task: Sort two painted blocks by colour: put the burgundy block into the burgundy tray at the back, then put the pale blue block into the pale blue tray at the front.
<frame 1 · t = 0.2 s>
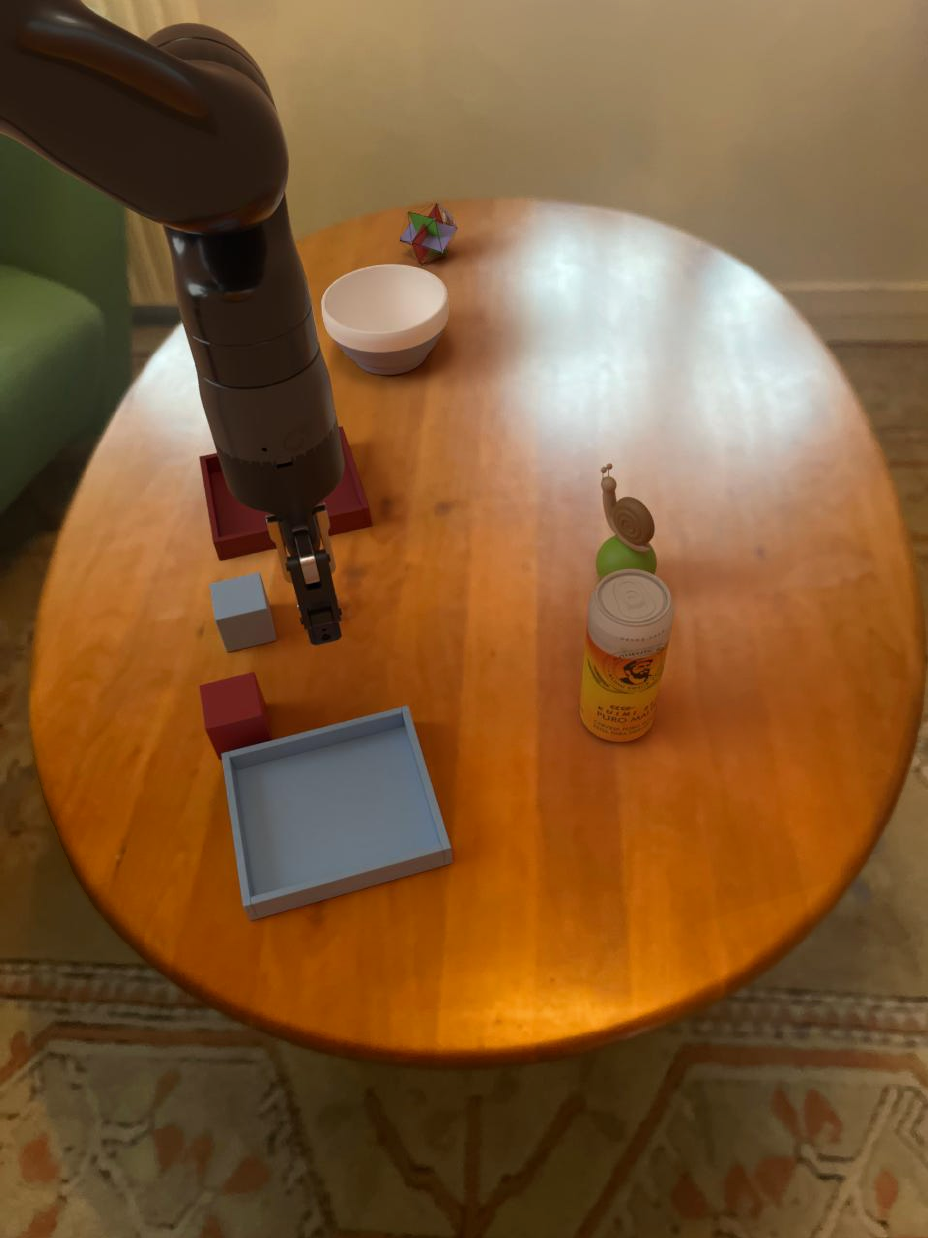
hand: (315, 595, 69), 14 cm above the table, tool pointing down, fingers open, 8 cm apart
blue block: (248, 628, 86), on the table
beer can: (615, 717, 79), on the table
burgundy tray: (286, 499, 97), on the table
bowl: (391, 356, 113), on the table
geometric puzzle: (429, 258, 127), on the table
snail figurine: (619, 581, 88), on the table
burgundy block: (242, 730, 79), on the table
blue tray: (336, 814, 74), on the table
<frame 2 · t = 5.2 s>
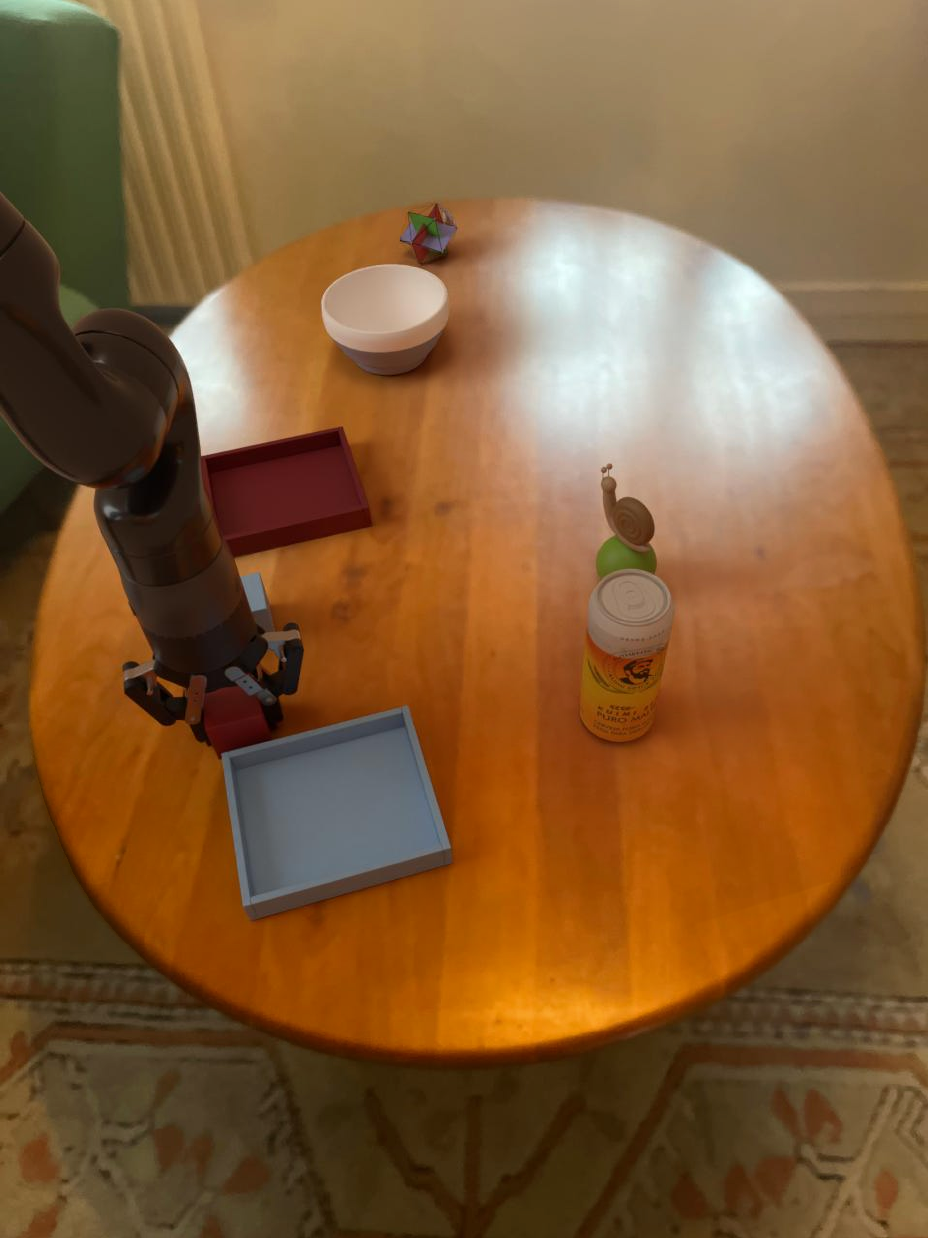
hand: (241, 728, 79), 0 cm above the table, tool pointing down, fingers closed on burgundy block, 4 cm apart
burgundy block: (242, 730, 79), on the table, touching gripper
everything else where it was.
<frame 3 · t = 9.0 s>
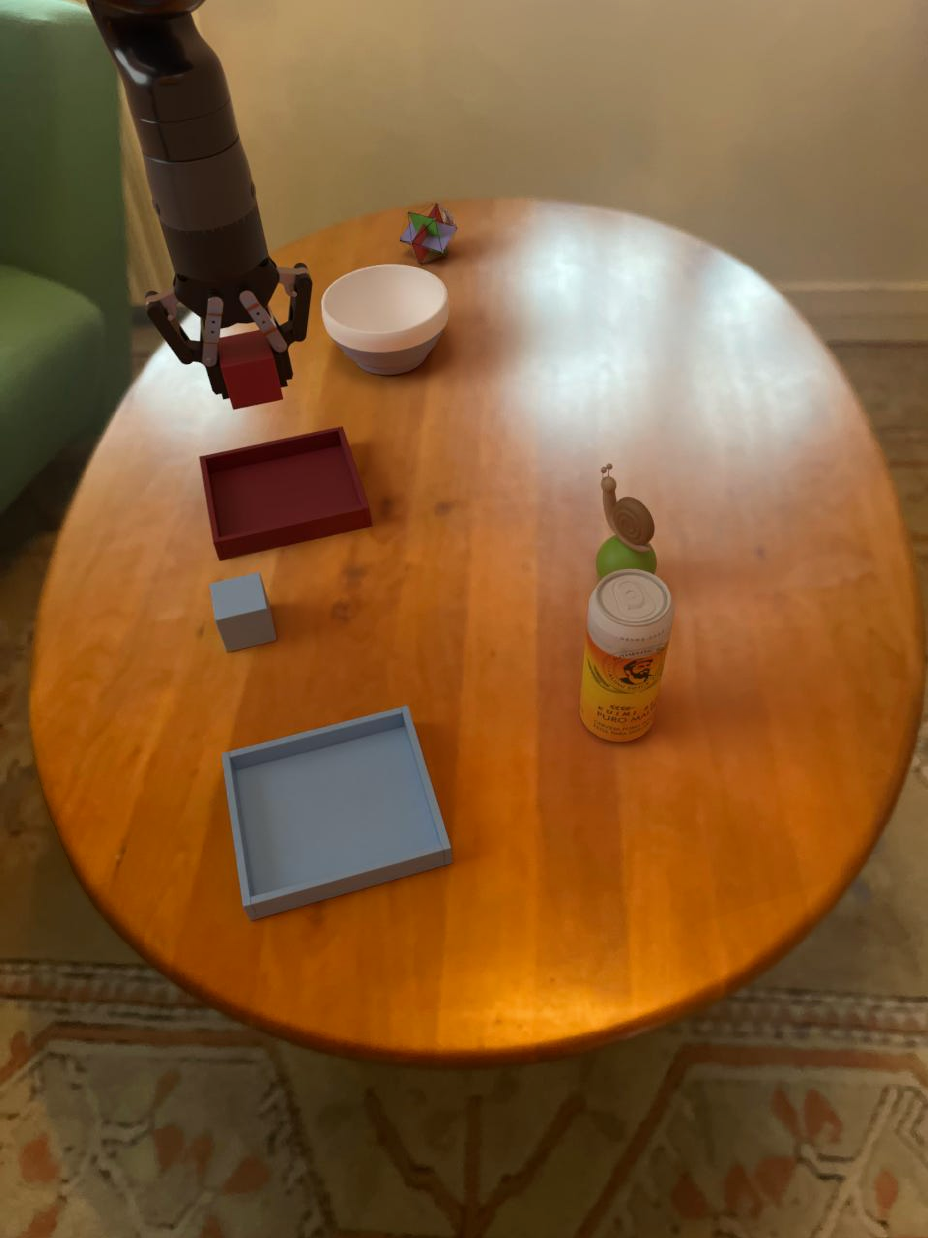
hand: (254, 387, 85), 15 cm above the table, tool pointing down, fingers closed on burgundy block, 4 cm apart
burgundy block: (255, 390, 85), point 15 cm above the table, touching gripper
everything else where it was.
when the fingers open (1 cm above the table, at t = 12.6 s): burgundy block stays where it is, resting on burgundy tray.
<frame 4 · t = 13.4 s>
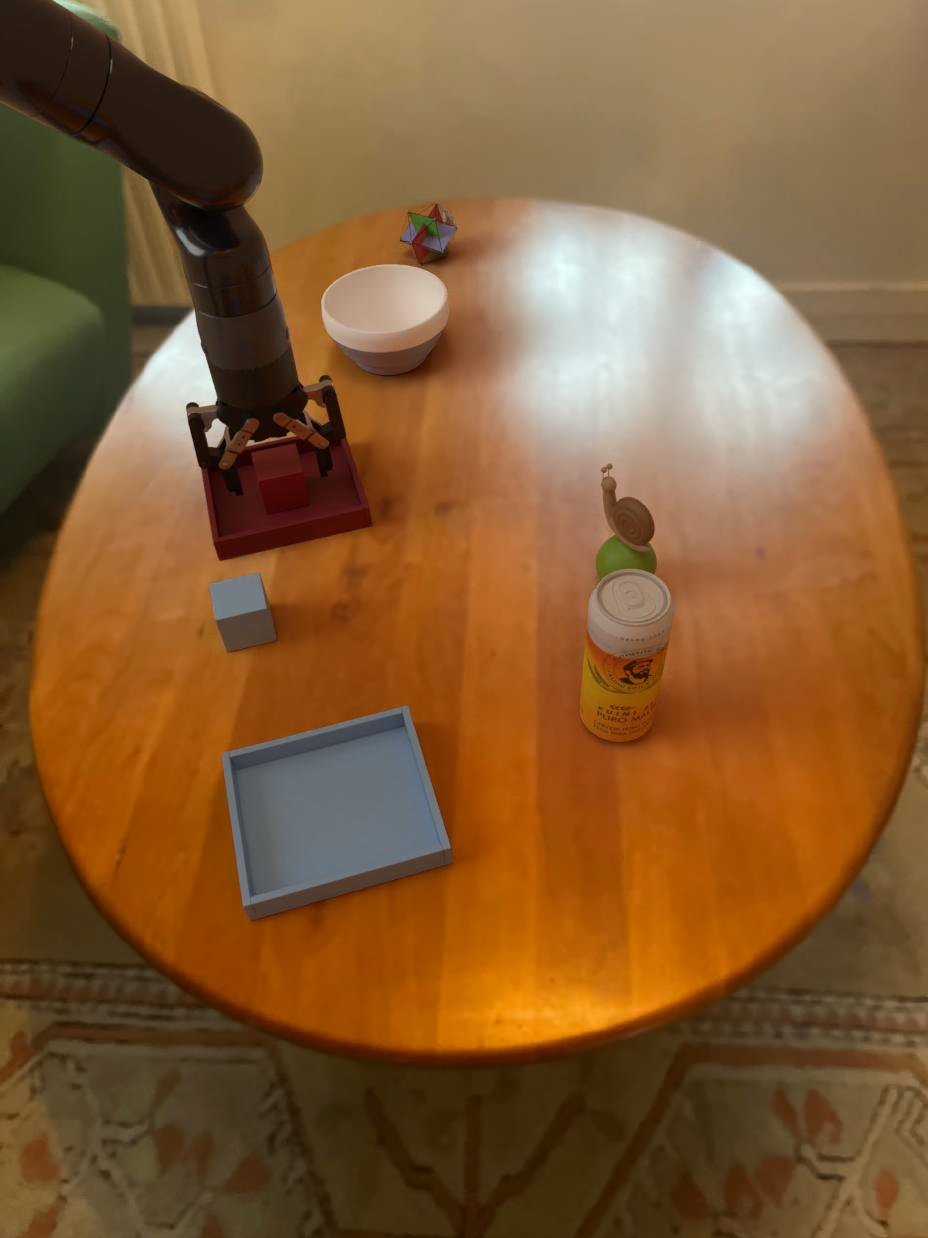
hand: (281, 481, 95), 3 cm above the table, tool pointing down, fingers open, 8 cm apart
burgundy block: (285, 495, 97), resting on burgundy tray
everything else where it was.
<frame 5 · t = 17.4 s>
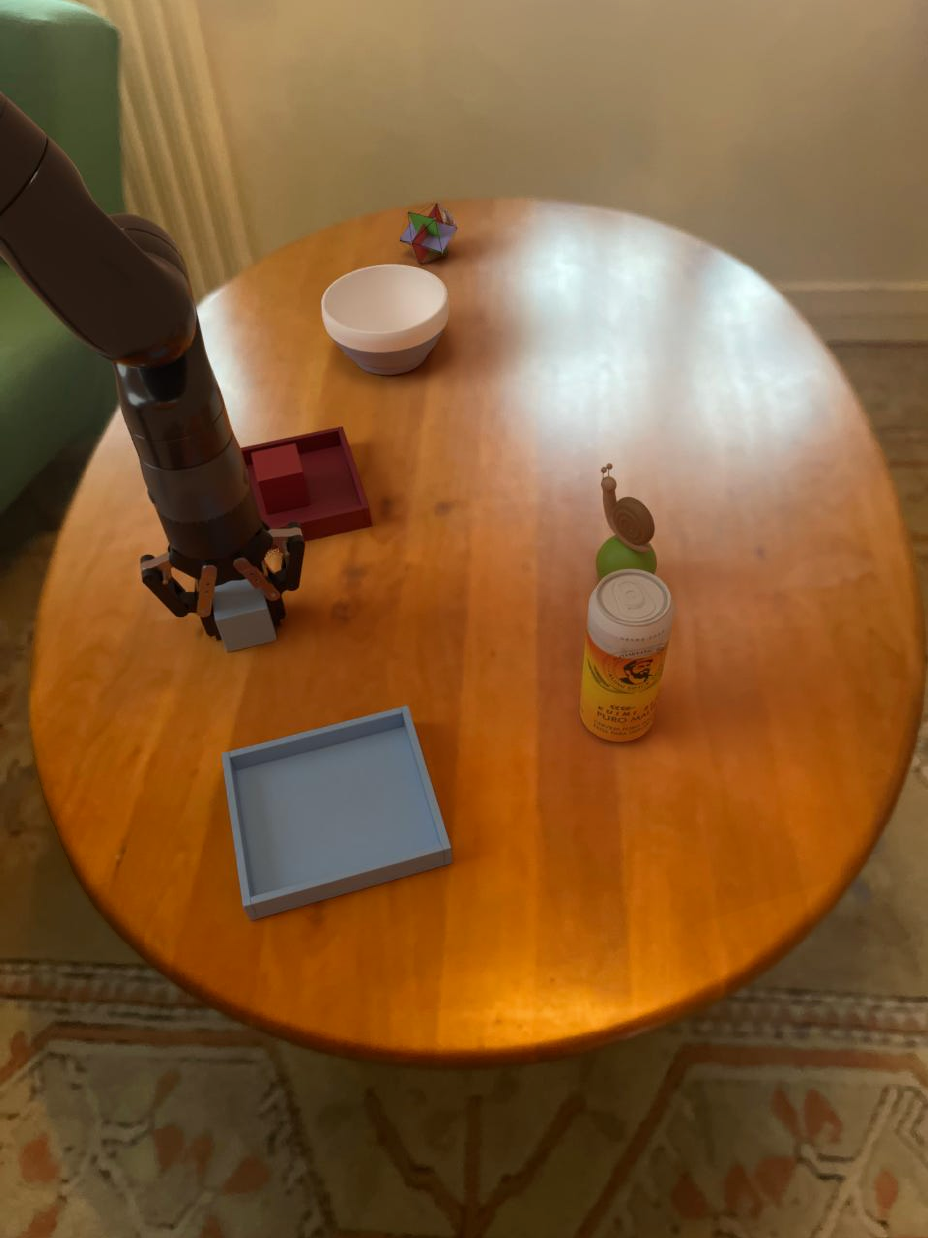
hand: (247, 625, 86), 0 cm above the table, tool pointing down, fingers closed on blue block, 4 cm apart
blue block: (248, 628, 86), on the table, touching gripper
everything else where it was.
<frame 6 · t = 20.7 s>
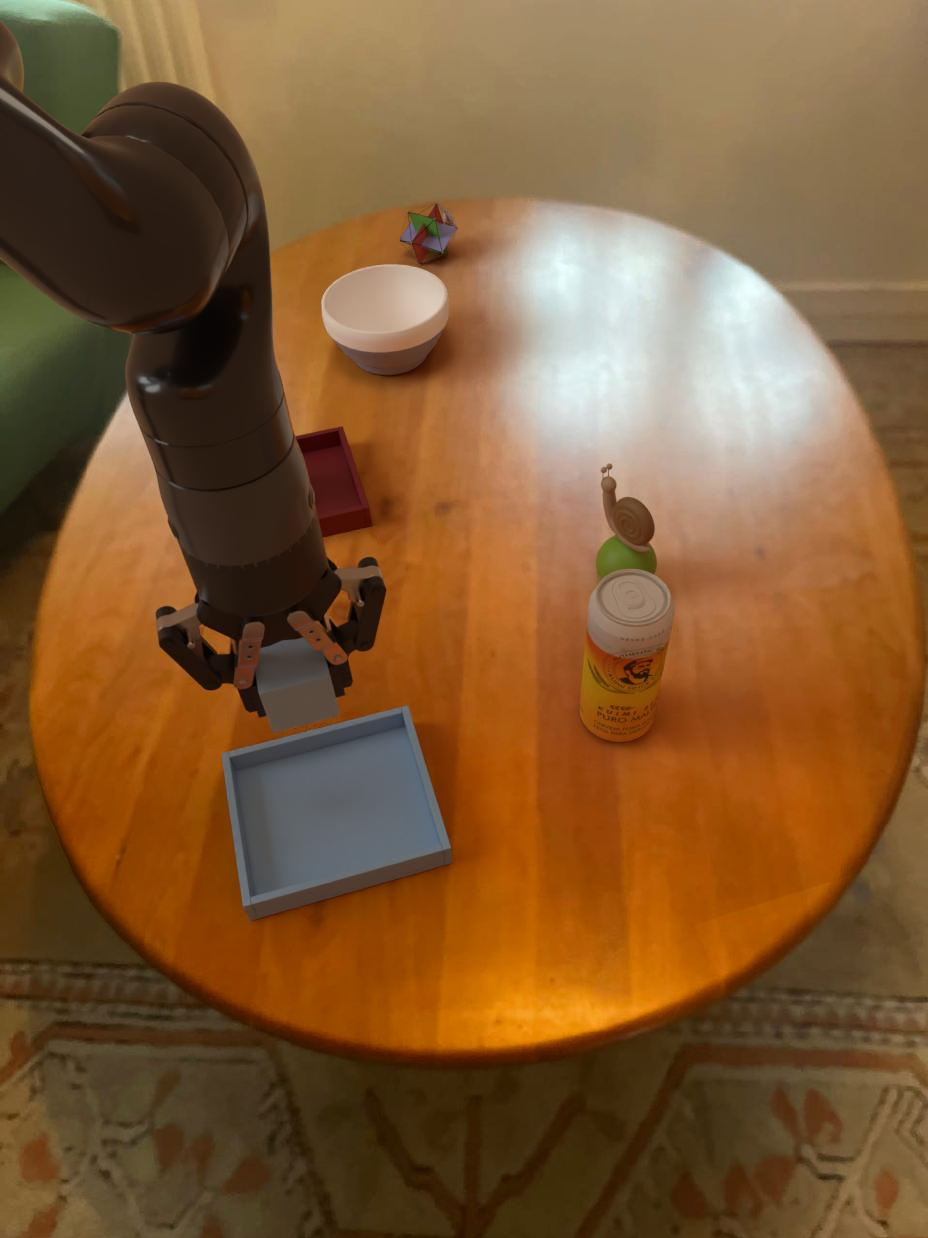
hand: (300, 695, 64), 14 cm above the table, tool pointing down, fingers closed on blue block, 4 cm apart
blue block: (301, 698, 64), point 14 cm above the table, touching gripper
everything else where it was.
when the fingers open (1 cm above the table, at t = 24.2 s): blue block stays where it is, resting on blue tray.
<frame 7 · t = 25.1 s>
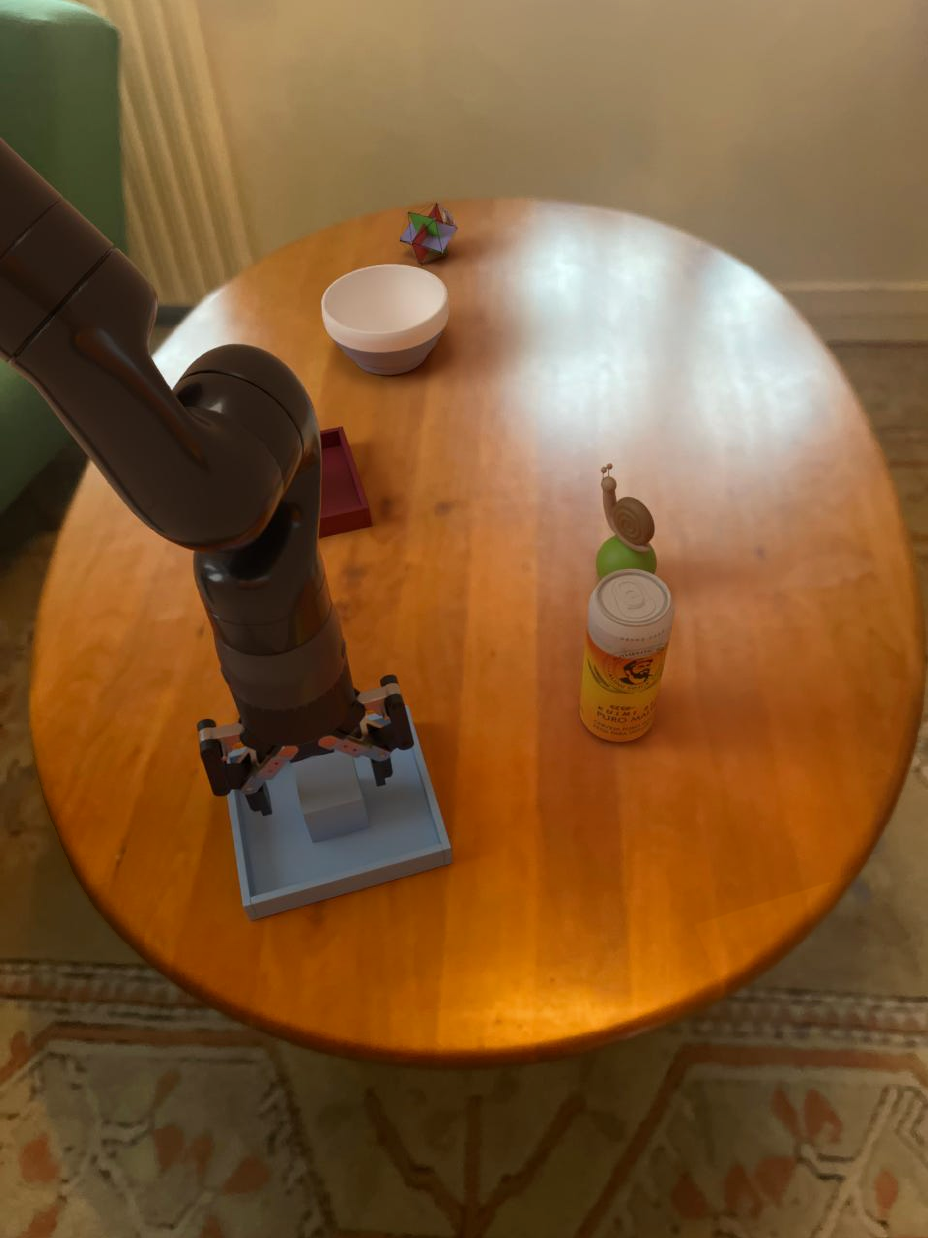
hand: (322, 790, 71), 4 cm above the table, tool pointing down, fingers open, 8 cm apart
blue block: (335, 810, 74), resting on blue tray
everything else where it was.
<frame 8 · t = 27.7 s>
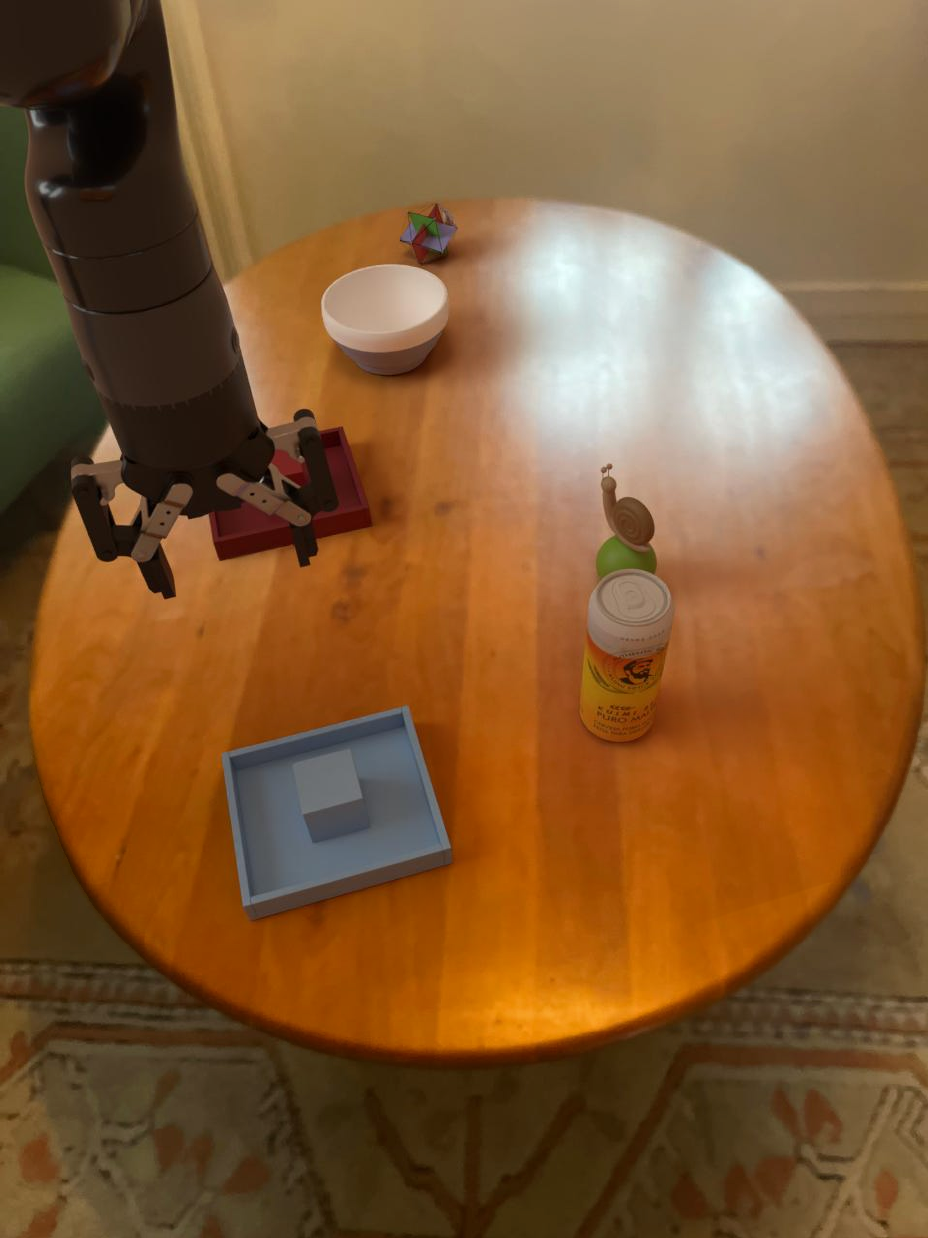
hand: (236, 573, 60), 22 cm above the table, tool pointing down, fingers open, 8 cm apart
nothing on the table moved.
at the end: burgundy block inside the target area in the burgundy tray (0.0 cm from its centre), point 0.5 cm above the burgundy tray's base; blue block inside the target area in the blue tray (0.1 cm from its centre), point 0.5 cm above the blue tray's base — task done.
